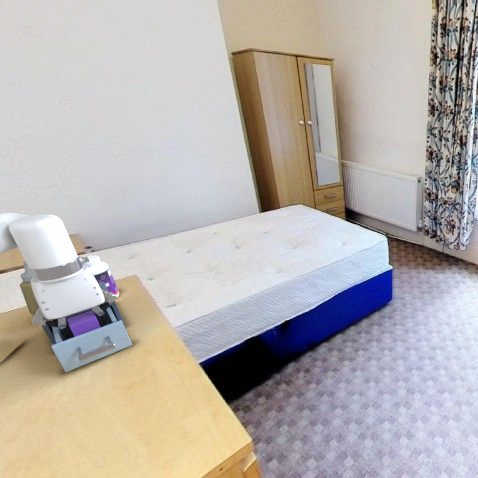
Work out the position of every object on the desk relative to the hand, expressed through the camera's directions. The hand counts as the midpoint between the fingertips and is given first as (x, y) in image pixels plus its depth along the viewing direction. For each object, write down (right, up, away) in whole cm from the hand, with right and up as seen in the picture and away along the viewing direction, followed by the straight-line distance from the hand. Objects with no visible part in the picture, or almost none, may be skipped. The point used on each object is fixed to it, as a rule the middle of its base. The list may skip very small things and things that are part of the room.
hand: (88, 331), depth 80 cm
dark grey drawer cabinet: (-9, -2, +9) cm, 13 cm away
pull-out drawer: (+1, -5, +1) cm, 5 cm away
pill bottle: (-18, +4, +21) cm, 28 cm away
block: (0, 0, 0) cm, 0 cm away
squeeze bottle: (-24, +1, +14) cm, 28 cm away
